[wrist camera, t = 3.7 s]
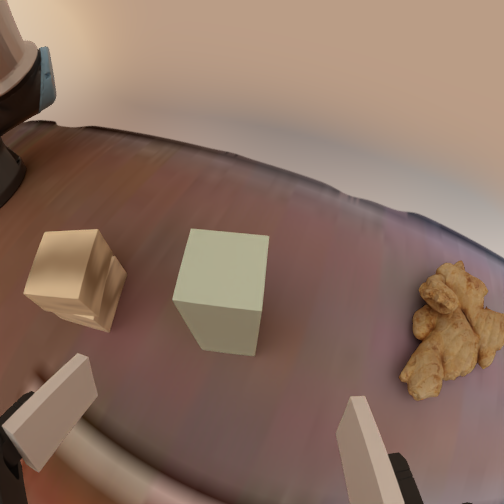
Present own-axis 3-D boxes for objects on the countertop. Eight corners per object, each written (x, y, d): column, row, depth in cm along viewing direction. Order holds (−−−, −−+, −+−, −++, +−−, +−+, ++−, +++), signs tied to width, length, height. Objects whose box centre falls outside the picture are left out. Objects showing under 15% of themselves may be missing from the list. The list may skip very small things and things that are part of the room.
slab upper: (61, 253, 26) (44, 232, 23) (112, 252, 27) (98, 229, 23) (45, 310, 22) (23, 293, 19) (98, 316, 23) (78, 298, 19)
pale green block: (210, 302, 28) (191, 228, 18) (260, 307, 28) (269, 235, 18) (202, 349, 25) (172, 299, 15) (255, 356, 25) (261, 311, 15)
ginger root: (477, 267, 29) (514, 247, 22) (476, 383, 24) (517, 384, 16) (384, 256, 31) (415, 228, 23) (377, 394, 25) (411, 406, 18)
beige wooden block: (81, 267, 30) (66, 249, 27) (128, 275, 30) (115, 256, 26) (62, 319, 26) (43, 305, 23) (110, 333, 26) (93, 319, 22)
